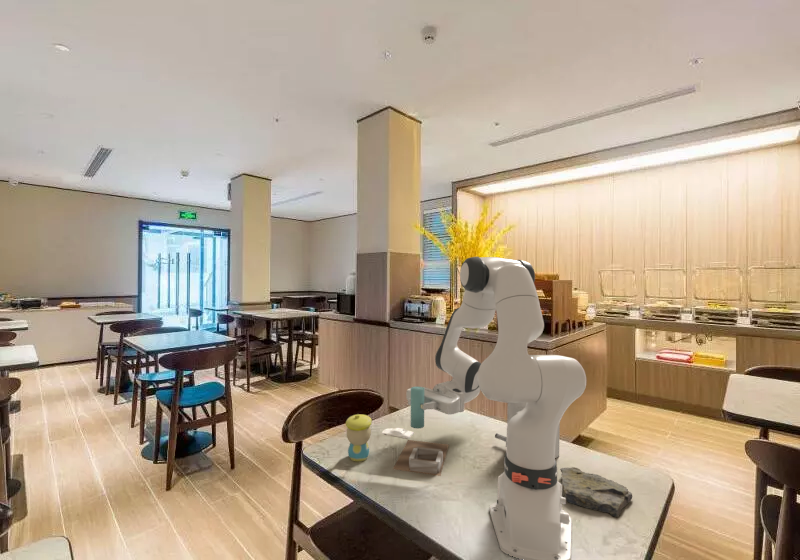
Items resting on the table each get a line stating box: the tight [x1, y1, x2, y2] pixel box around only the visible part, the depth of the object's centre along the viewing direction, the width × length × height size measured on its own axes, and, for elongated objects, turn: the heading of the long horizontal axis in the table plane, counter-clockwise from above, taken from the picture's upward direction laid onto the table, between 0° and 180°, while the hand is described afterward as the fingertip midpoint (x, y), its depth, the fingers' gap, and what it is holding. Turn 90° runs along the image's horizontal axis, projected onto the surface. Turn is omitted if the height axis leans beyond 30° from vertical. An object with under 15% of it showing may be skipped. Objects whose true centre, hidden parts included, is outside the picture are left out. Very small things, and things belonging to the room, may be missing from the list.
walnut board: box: [392, 439, 450, 477], centre depth 117 cm, size 20×14×4 cm
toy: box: [345, 413, 373, 462], centre depth 116 cm, size 8×9×15 cm
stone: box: [559, 466, 633, 518], centre depth 99 cm, size 18×15×4 cm
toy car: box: [381, 427, 415, 440], centre depth 134 cm, size 6×12×3 cm, turn 67°
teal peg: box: [410, 386, 425, 430], centre depth 120 cm, size 4×4×12 cm
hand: (415, 404), depth 120 cm, fingers closed on teal peg, 4 cm apart
